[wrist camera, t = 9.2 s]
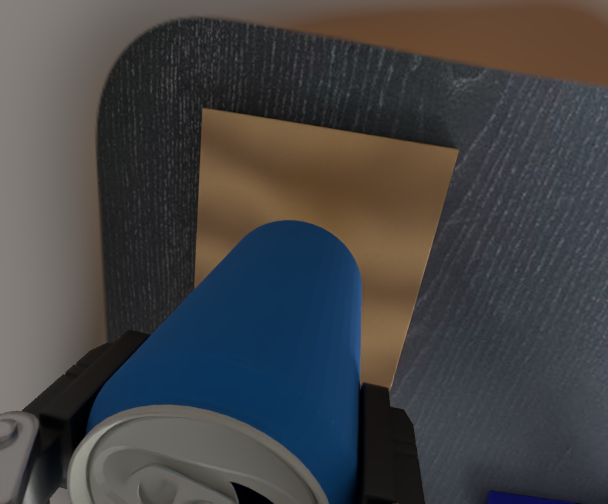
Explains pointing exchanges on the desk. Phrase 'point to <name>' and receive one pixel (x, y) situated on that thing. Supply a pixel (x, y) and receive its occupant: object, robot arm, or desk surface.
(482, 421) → the desk surface
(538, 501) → the mount
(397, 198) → the cork mat
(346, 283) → the beverage can
